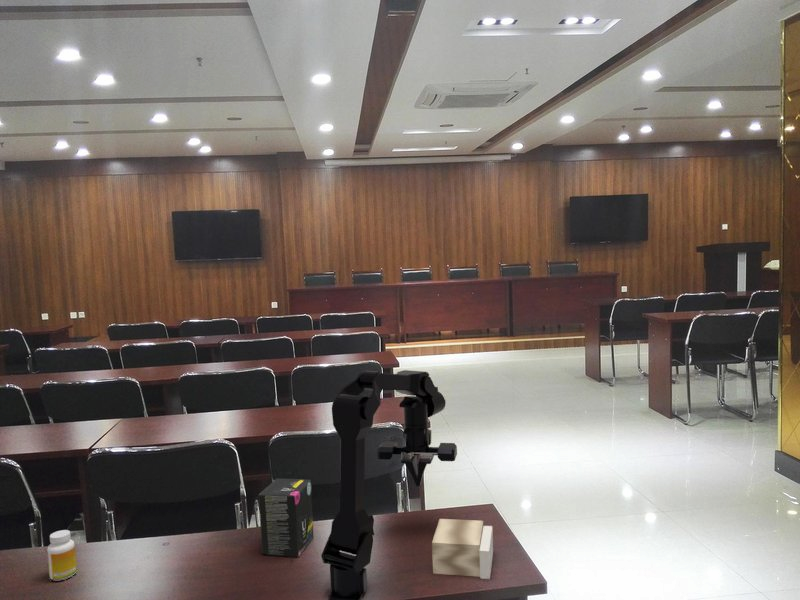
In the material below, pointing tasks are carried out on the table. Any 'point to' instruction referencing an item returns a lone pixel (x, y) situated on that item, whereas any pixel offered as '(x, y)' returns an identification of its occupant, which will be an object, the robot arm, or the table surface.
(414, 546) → the table surface
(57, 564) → the supplement bottle
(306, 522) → the tampon box
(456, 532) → the block
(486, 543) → the bar
